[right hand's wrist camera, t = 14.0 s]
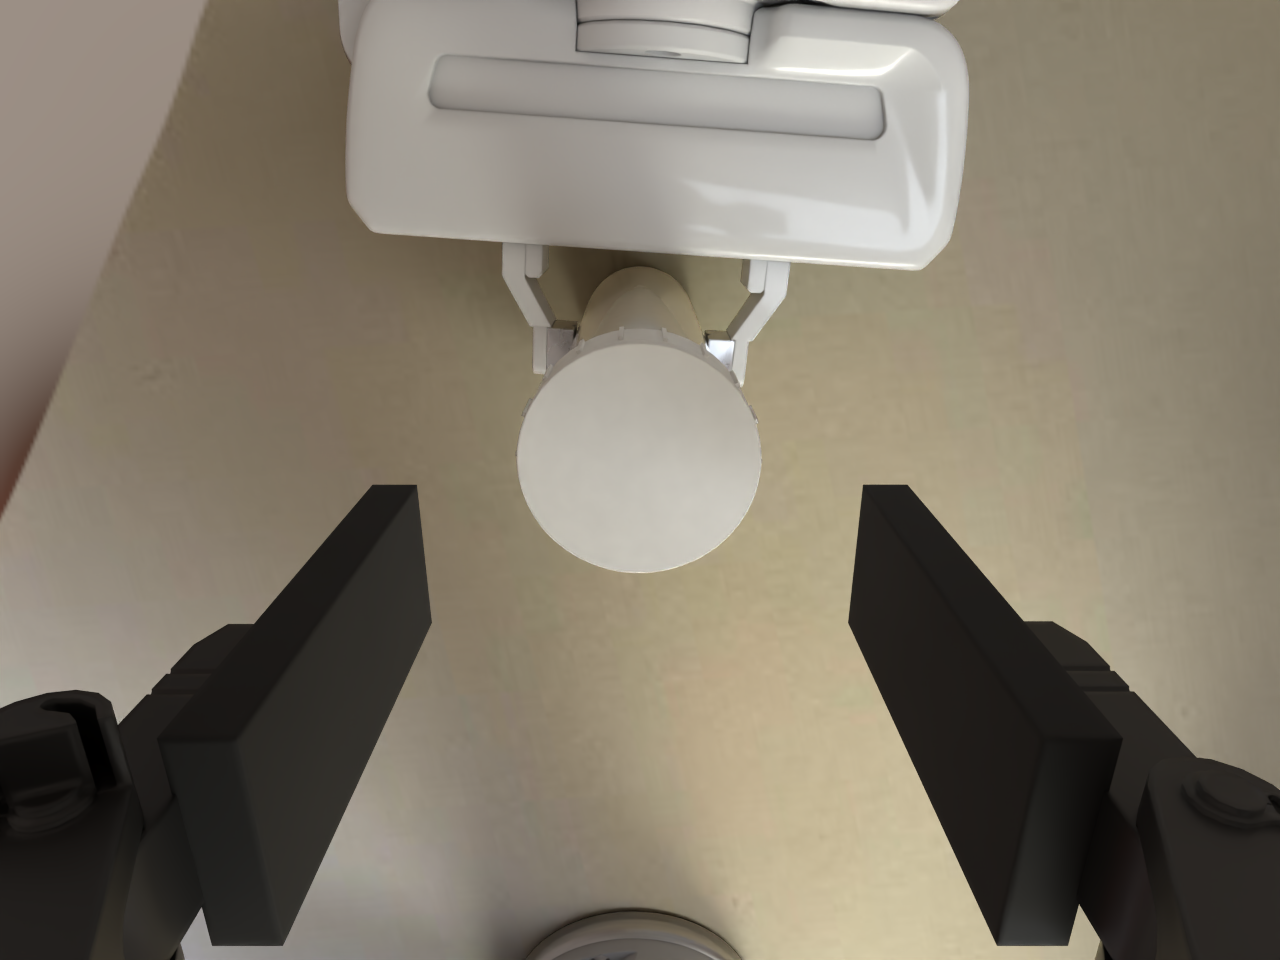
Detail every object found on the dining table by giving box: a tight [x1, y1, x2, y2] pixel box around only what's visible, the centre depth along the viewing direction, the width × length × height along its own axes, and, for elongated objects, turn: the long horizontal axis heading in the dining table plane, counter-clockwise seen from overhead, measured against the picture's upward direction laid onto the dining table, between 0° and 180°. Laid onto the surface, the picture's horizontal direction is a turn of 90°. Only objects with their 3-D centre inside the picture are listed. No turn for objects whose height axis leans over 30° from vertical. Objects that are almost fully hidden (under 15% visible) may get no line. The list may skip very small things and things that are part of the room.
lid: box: [516, 326, 762, 573], centre depth 19 cm, size 6×6×2 cm
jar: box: [569, 266, 710, 352], centre depth 27 cm, size 5×5×18 cm
